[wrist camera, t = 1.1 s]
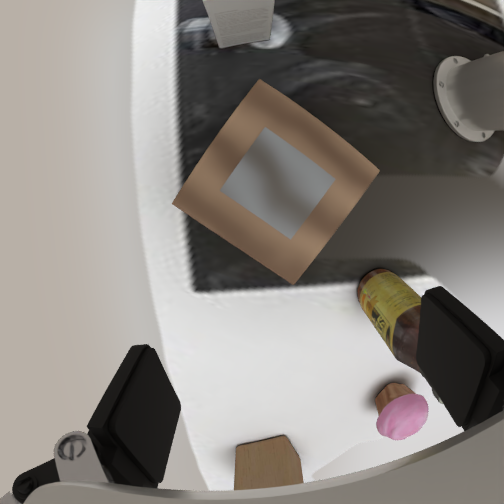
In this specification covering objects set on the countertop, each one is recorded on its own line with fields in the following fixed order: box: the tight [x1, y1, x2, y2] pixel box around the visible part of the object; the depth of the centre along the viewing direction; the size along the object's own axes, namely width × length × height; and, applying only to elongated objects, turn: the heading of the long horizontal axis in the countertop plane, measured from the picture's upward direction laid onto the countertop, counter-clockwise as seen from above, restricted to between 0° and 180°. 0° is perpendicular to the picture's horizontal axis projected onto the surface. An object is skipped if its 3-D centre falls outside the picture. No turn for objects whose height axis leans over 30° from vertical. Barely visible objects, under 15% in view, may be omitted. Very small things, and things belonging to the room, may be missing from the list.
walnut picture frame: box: [172, 79, 380, 285], centre depth 31 cm, size 16×16×3 cm
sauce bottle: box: [358, 269, 443, 404], centre depth 27 cm, size 7×6×20 cm
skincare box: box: [203, 0, 275, 48], centre depth 22 cm, size 6×4×12 cm
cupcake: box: [375, 383, 428, 440], centre depth 38 cm, size 9×9×10 cm
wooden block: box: [234, 436, 303, 490], centre depth 38 cm, size 10×10×20 cm
